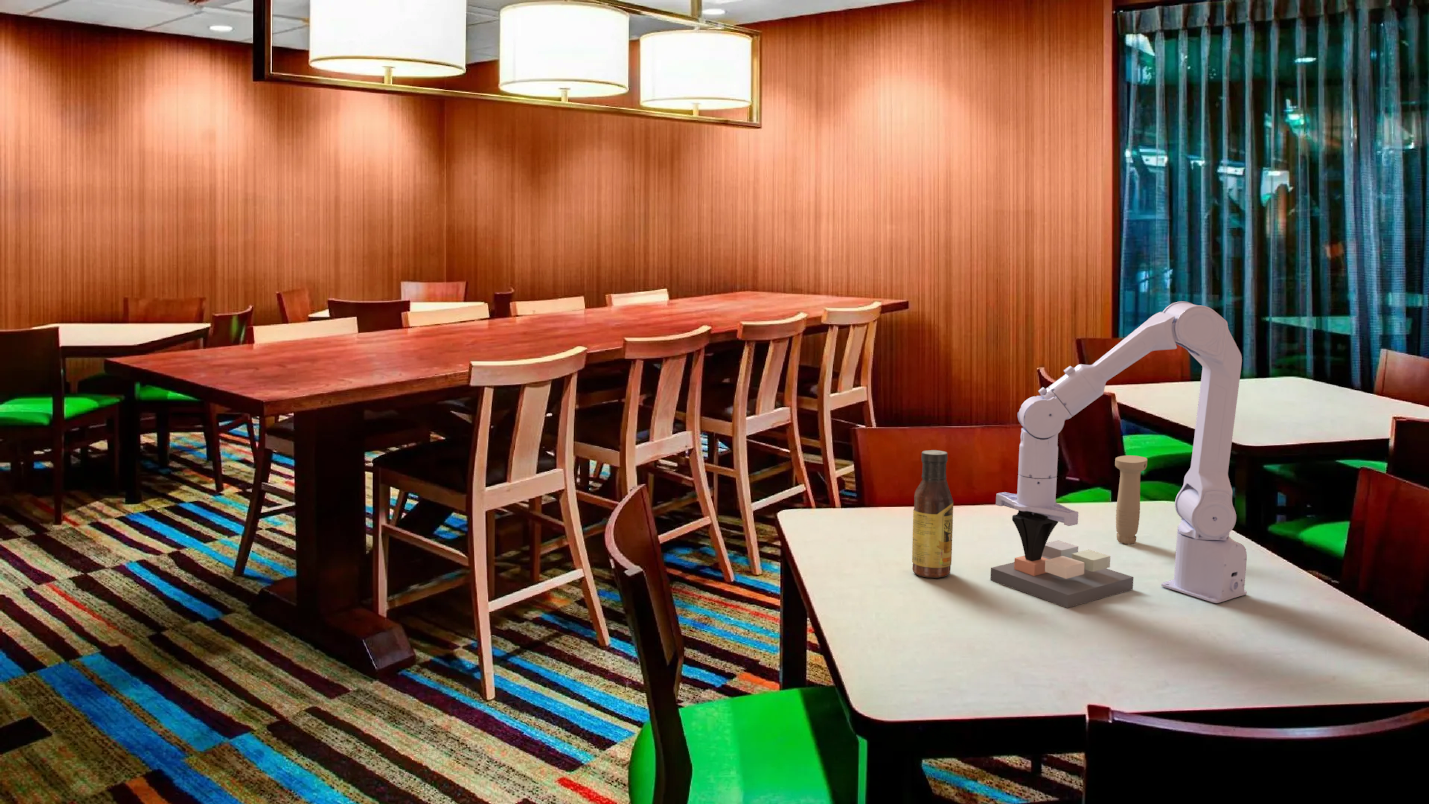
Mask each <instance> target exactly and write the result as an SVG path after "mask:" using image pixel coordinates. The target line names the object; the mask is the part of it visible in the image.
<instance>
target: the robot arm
mask: <svg viewBox="0 0 1429 804" xmlns="http://www.w3.org/2000/svg"><path fill="white" fill-rule="evenodd" d="M1228 325H1229V324H1228V321H1227V320H1226V319H1224V317H1222V315H1220V314H1219V313H1218V312H1216V311H1215V310H1214V309H1212V308H1211V307H1209V306H1205V305H1198V304H1193V303H1192V302H1188V301H1184V300H1183V301H1182V300H1181V301H1177V302H1172V303H1171V304H1169V305H1168V306H1166V307H1165V308H1164V310H1162V311H1159V312H1156V313H1155V314H1153V315H1152V316H1150V317H1149V318H1148V319H1147V320H1146V321H1144V322H1143V323H1142V324H1140V326H1138V327H1137V328H1135V329H1134V330H1133V331H1131V333H1129V334H1128V335H1127V336H1125V338H1122V340H1121V341H1120V342H1118V343H1117V344H1115V346H1114V347H1113V348H1111V349H1110V350H1109V351H1106V353H1105V354H1103V355H1102V356H1101V357H1100V358H1098V359H1097V360H1095V362H1093V363H1092V364H1082V363H1080V364H1079V363H1078V364H1077V365H1076V366H1075V367H1073V366H1071V365H1069V366H1068V367H1066V368H1065V369H1063V372H1064V375H1062V376H1061V377H1060V378H1058V379H1057V380H1055V382H1053V383H1052V384H1050V385H1049V386H1048V387H1046V388H1045V387H1043V386H1042V387H1041V388H1040V389H1039V390H1037V391H1038V393H1039V395H1036V396H1035V395H1034V396H1031V397H1029V398H1027V399H1026V400H1024V401H1023V403H1022V404H1021V405H1020V408H1019V411H1018V412H1017V420H1018V422H1019V424H1020V425H1021V426H1022V427H1021V429H1020V431H1021V432H1020V443H1019V447H1018V448H1019V449H1018V450H1019V451H1018V467H1017V468H1018V471H1017V474H1018V475H1017V489H1016V491H1017V493H1010V492H1006V491H1004V492H998V493H996V496H995V506H998V507H1006V508H1009V509H1014V510H1016V511H1017V513H1016V514H1013V515H1011V516H1012V517H1011V519H1012V522H1013V524H1014V525H1015V527H1016V530H1017V532H1018V534H1019V537H1020V540H1021V544H1022V548H1023V549H1022V550H1023V554H1024V556H1025V558H1026V560H1029V561H1036V560H1040V559H1041V557H1042V553H1043V550H1044V547H1045V545H1046V543H1048V539H1049V537H1050V536H1051V534H1052V532H1053V531H1054V529H1055V527H1056V526H1057V525H1058V523H1063V525H1064V526H1067V527H1070V526H1076V525H1079V511H1076V510H1073V509H1070V508H1068V507H1066V506H1064V505H1062V504H1060V503H1058V502H1057V501H1056V496H1057V495H1056V494H1057V482H1058V481H1057V479H1058V477H1057V476H1058V461H1059V459H1058V458H1059V446H1058V444H1059V442H1058V441H1059V440H1058V439H1059V433H1061V431H1062V430H1063V428H1064V426H1065V421H1066V420H1069V419H1072V417H1074V416H1075V415H1077V414H1078V413H1079V412H1081V411H1083V409H1085V408H1087V406H1089V405H1090V404H1092V403H1093V402H1094V401H1096V400H1097V399H1099V398H1100V397H1101V396H1103V395H1104V393H1105V388H1106V383H1107V382H1108V381H1109V380H1111V379H1112V378H1113V377H1116V375H1118V374H1120V373H1121V372H1123V371H1124V370H1125V369H1127V368H1129V367H1130V366H1132V365H1133V364H1135V363H1136V362H1138V361H1139V360H1141V359H1142V358H1143V357H1145V356H1146V355H1148V354H1149V353H1151V352H1154V351H1166V350H1167V351H1168V350H1176V349H1178V346H1179V347H1182V348H1183V349H1184V350H1186V351H1187V352H1188V354H1190V355H1191V356H1192V357H1193V358H1194V359H1195V360H1196V361H1197V362H1198V363H1199V364H1200V365H1201V366H1202V368H1201V369H1202V370H1201V377H1200V378H1201V379H1200V386H1199V393H1198V394H1199V395H1198V404H1197V412H1196V421H1195V427H1194V438H1193V444H1192V454H1191V459H1190V460H1191V461H1190V468H1189V469H1188V471H1187V472H1186V473H1185V475H1184V478H1183V485H1182V487H1181V488H1180V490H1179V491H1178V493H1177V495H1176V497H1175V501H1174V508H1175V512H1176V513H1177V515H1178V516H1179V518H1181V519H1180V520H1181V521H1180V523H1179V524H1178V526H1177V531H1176V532H1177V533H1176V543H1175V544H1176V547H1175V559H1174V560H1175V561H1174V574H1173V579H1170V580H1168V581H1163V582H1161V583H1160V585H1161V587H1163V588H1166V589H1170V590H1173V591H1176V592H1178V593H1183V594H1185V595H1188V596H1190V597H1194V598H1198V599H1200V600H1205V601H1207V602H1209V603H1214V604H1220V603H1223V602H1225V601H1228V600H1232V599H1235V598H1238V597H1241V596H1245V595H1247V594H1248V590H1245V585H1246V572H1247V559H1248V555H1247V554H1248V553H1247V550H1246V547H1245V546H1244V544H1243V543H1240V542H1238V541H1235V540H1233V539H1232V537H1231V536H1230V533H1231V531H1232V530H1233V529H1234V527H1235V525H1236V522H1237V514H1236V510H1235V507H1234V505H1233V489H1232V485H1231V482H1230V481H1231V480H1230V478H1229V466H1230V458H1231V450H1232V443H1233V436H1234V426H1235V418H1236V413H1237V403H1238V396H1239V395H1238V394H1239V388H1240V387H1239V386H1240V380H1241V379H1240V378H1241V371H1242V362H1243V359H1242V358H1243V356H1242V353H1241V351H1240V349H1239V347H1238V346H1237V343H1236V341H1235V340H1234V337H1233V336H1232V334H1231V331H1230V330H1229V326H1228Z"/></svg>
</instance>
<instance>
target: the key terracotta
mask: <svg viewBox="0 0 1429 804" xmlns="http://www.w3.org/2000/svg"><path fill="white" fill-rule="evenodd" d="M1045 560H1048V559H1047V558H1043V557H1041V559H1040V560H1036V561H1029V560H1026V558H1025V555H1022V556H1018V557H1014V561H1013V562H1014V569H1015V570H1018V571H1021V572H1024V573H1027V574H1030V575H1033V576H1036V575H1040V574H1044V573H1048V572H1045Z"/></svg>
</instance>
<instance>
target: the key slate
mask: <svg viewBox="0 0 1429 804" xmlns="http://www.w3.org/2000/svg"><path fill="white" fill-rule="evenodd" d="M1077 552H1079V546H1078V545H1075V544H1071V543H1068V542H1065V541H1061V540H1058V539H1057V540H1054V541H1049V542H1048V541H1047V542H1046V545H1045V547H1044V550H1043V553H1042V556H1045V557H1048V558H1051V559H1052V558H1056V557H1061V556H1065V557H1068V558H1072V554H1073V553H1077Z"/></svg>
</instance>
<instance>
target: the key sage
mask: <svg viewBox="0 0 1429 804" xmlns="http://www.w3.org/2000/svg"><path fill="white" fill-rule="evenodd" d="M1072 559H1075V560H1078V561H1081V562H1084V563H1085V564H1084V569H1085V570H1089V571H1092V572H1094V571H1098V570H1102V569H1105V568H1107V569H1109V568H1110V567H1111V555H1108V554H1105V553H1101V552H1098V551H1095V550H1091V549H1085V550H1081V551H1078V552H1077V553H1073V554H1072Z"/></svg>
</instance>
